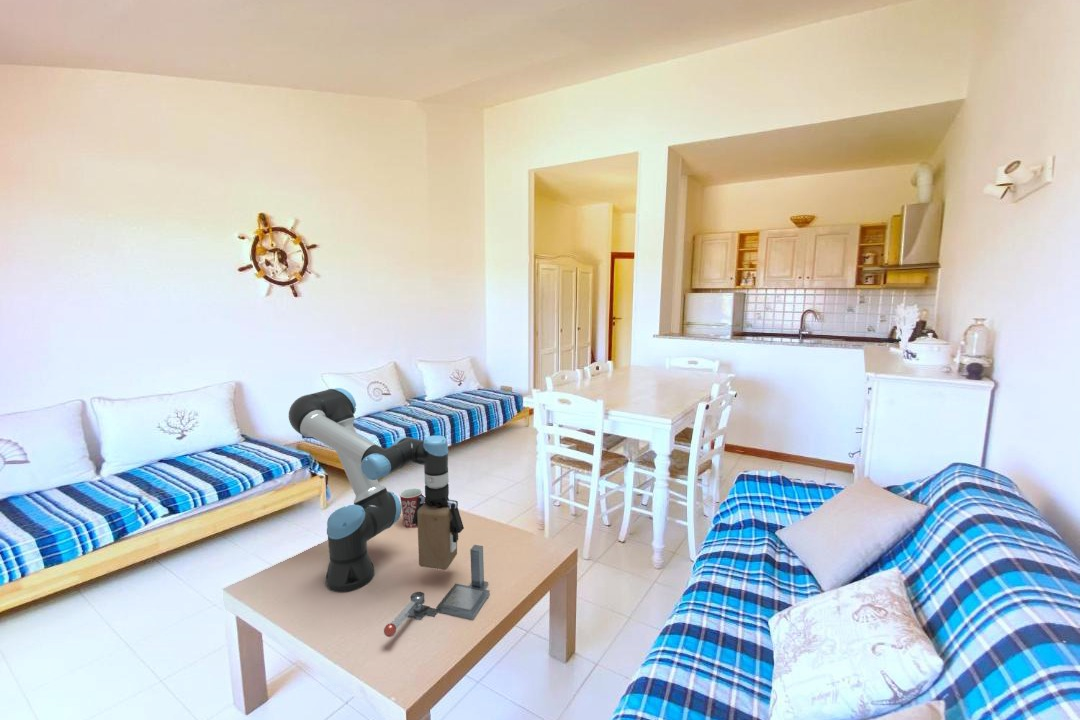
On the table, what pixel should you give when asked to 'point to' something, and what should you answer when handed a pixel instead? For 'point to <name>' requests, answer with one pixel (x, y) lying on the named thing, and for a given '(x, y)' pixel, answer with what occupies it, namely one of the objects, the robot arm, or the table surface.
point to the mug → (409, 505)
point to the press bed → (462, 593)
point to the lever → (404, 613)
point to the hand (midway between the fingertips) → (438, 547)
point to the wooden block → (435, 537)
